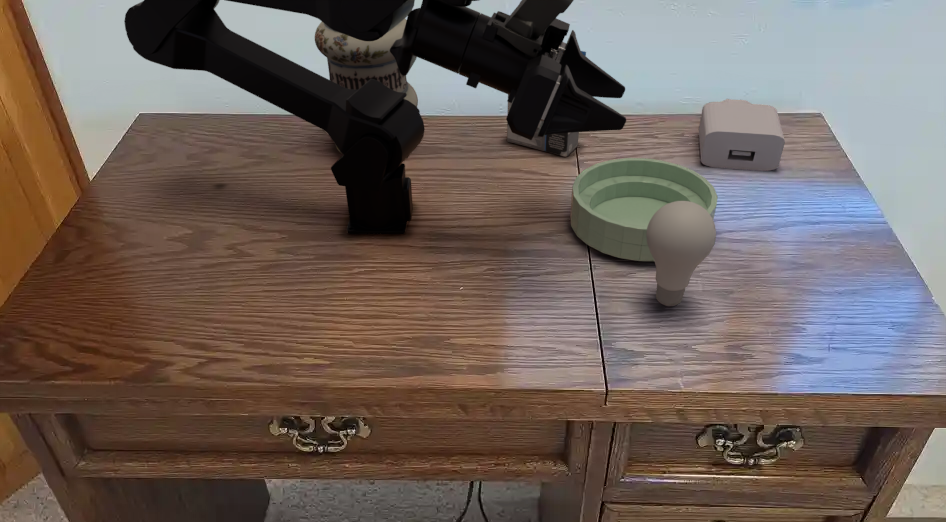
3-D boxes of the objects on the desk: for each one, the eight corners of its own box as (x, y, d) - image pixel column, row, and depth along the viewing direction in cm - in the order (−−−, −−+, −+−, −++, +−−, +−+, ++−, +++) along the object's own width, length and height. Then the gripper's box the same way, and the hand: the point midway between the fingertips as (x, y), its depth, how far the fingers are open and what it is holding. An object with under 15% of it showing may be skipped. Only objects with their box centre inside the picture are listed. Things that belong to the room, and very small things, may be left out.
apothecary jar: (350, 174, 98) (332, 25, 87) (314, 137, 106) (293, -4, 95) (436, 150, 103) (430, 6, 91) (395, 116, 111) (384, -20, 99)
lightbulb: (629, 315, 76) (644, 215, 69) (643, 280, 80) (658, 183, 73) (694, 329, 74) (716, 229, 67) (704, 293, 79) (726, 195, 72)
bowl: (574, 265, 83) (577, 228, 80) (566, 192, 94) (568, 157, 91) (722, 267, 82) (731, 229, 79) (695, 192, 94) (702, 158, 91)
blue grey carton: (505, 142, 104) (506, 48, 96) (519, 131, 107) (522, 38, 99) (566, 158, 101) (573, 61, 93) (579, 146, 103) (587, 51, 95)
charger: (765, 119, 109) (777, 172, 97) (695, 115, 110) (699, 166, 99) (773, 86, 106) (786, 136, 94) (702, 81, 107) (706, 130, 96)
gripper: (486, -26, 62) (670, 51, 63) (512, -61, 77) (659, 2, 78) (441, 106, 68) (609, 174, 69) (473, 49, 83) (610, 106, 84)
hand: (624, 107), depth 75 cm, fingers open, 9 cm apart
